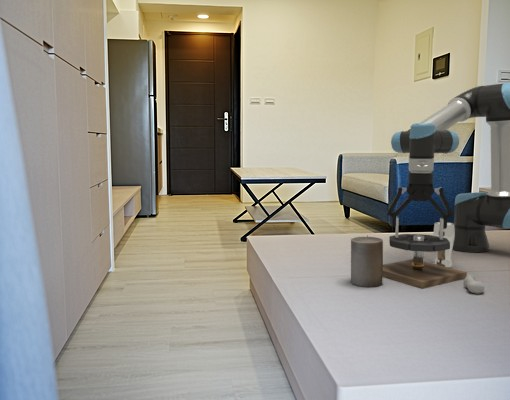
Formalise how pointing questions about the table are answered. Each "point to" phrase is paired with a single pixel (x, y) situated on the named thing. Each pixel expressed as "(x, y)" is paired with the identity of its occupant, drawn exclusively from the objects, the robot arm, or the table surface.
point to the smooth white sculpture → (473, 284)
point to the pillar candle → (366, 261)
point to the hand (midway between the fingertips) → (418, 237)
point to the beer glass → (445, 255)
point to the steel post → (418, 256)
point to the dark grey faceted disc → (419, 243)
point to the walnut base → (421, 274)
